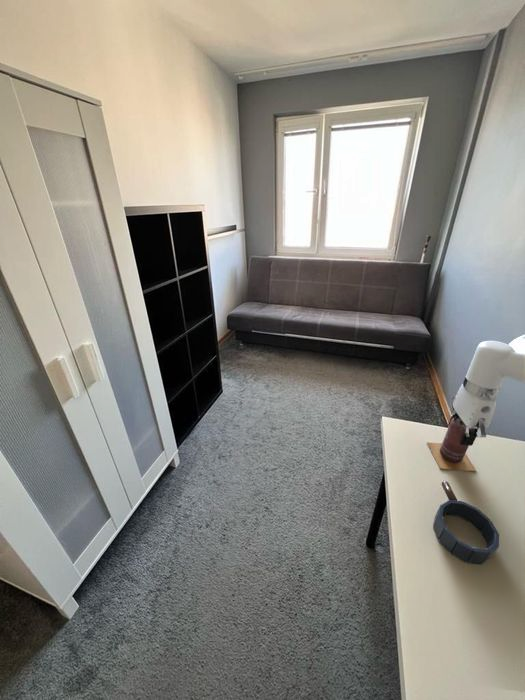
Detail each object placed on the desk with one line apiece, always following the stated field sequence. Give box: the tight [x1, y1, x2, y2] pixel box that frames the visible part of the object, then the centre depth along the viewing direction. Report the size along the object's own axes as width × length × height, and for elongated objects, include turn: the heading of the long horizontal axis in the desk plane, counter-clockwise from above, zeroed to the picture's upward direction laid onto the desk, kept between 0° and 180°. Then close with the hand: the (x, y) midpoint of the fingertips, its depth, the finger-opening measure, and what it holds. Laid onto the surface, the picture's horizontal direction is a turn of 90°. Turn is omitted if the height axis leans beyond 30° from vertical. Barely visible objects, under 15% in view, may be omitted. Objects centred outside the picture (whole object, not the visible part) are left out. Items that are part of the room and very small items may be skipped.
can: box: [440, 416, 475, 463], centre depth 83 cm, size 6×6×14 cm
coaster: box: [426, 441, 477, 473], centre depth 87 cm, size 10×10×1 cm
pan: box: [432, 480, 500, 565], centre depth 68 cm, size 12×18×5 cm, turn 173°
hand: (459, 434), depth 82 cm, fingers closed on can, 6 cm apart
